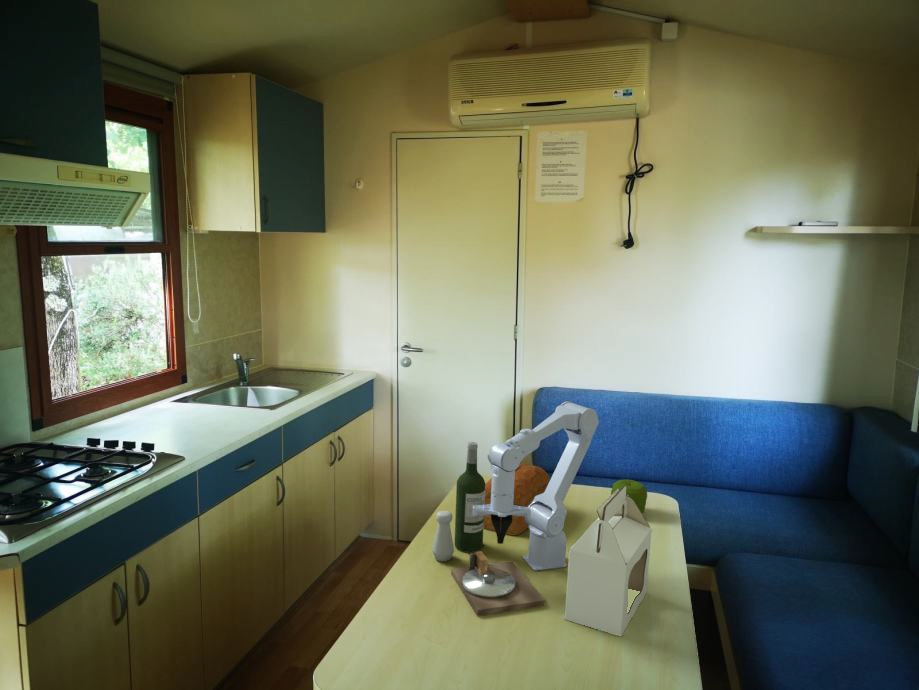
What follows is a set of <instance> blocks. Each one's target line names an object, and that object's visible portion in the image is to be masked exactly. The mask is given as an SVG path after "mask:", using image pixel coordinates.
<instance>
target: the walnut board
mask: <svg viewBox="0 0 919 690" xmlns="http://www.w3.org/2000/svg"><path fill="white" fill-rule="evenodd" d="M469 553H470V554H469V566H464V567H457V568H451V569H450V571H451V572H450V575H451V577H452V578H453V580H454V581H455V583H456V585H457V586H458V588H459V589H460V591H461V593H462V594H463V596H464V597H465V599H466V601H467V602H468V604H469V606H470V607H471V609H472V610H473V612H474V613H475V615H476V617H479V616H480V617H481V616H485V615H492V614H493V615H494V614H500V613H506V612H512V611H520V610H526V609H532V608H541V607H545V602H546V599H544V597H543V596H542V595H541V593H540V592H539V591H538V590H537V589H536V588H535V587H534V585H533V584H532V582H530V580H529V579H528V577H526V576H525V574H524V573H523V572H522V571H521V569H520V568H519V567H518V566H517V565H516V563H515V562H514V561H504V562H496V563H488V564H487V568H496V569H500V570H503V571H505V572H507V573H509V574H511V575H512V576H513V577H514V579H515V589H514V591H513V592H512V593H510V594H509V595H507V596H504V597H499V598H483V597H479V596H475V595H473V594H471V593H469V592H467V591H466V590H465V589H464V587H463V585H462V579H463V576H464V575H465V574H466V573H467V572H468V571H470V570H473V569H477V568H476V567H475V555H476V554H475V552H469Z"/></svg>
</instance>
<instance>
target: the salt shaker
mask: <svg viewBox="0 0 919 690" xmlns="http://www.w3.org/2000/svg"><path fill="white" fill-rule="evenodd" d="M435 520H436V522H437V524H436V525H437V526H436V531H435V535H434V538H433V544H432V554H433V556H434V558H435V560H437V562H443V561H445V562H448V561H450V560H451V558H452V556H453V554H454V552H455V546H454V541H453V534H452V531H451V529H452V528H451V524H450V523H452V520H453V514H452V512H450V511H449V510H440V511H438V512H437V513H436V516H435ZM447 560H448V561H447Z"/></svg>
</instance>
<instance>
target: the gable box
mask: <svg viewBox="0 0 919 690" xmlns="http://www.w3.org/2000/svg"><path fill="white" fill-rule="evenodd" d="M596 513H597V516H598V518H597V519H596V520H595V521H593V522H592V523H591V524H590V526H589V527H588V528H587V529H586V530H585V531H584V533H582V535H581V536H580V537H579V538H578V539H577V541H575V543H574V544H573V545H572V546H571V547H570V548H569V549H568V550H569V552H568V565H567V580H566V592H565V593H566V595H565V608H564V609H565V611H564V612H565V613H564V620H566V621H568V622H571V621H572V623H575V624H577V625H582V626H584V625H585V626H584V627H587V626H588V628H590V627H591V629H593V628H594V630H596V629H598V630H597V631H600V630H601V631H600V632H603V631H605V632H604V633H606V632H608V633H607V634H609V632H610V633H613V634H617V635H623V634H624V633H625V631H626V629H627V628H628V626H627V625H629V624H630V622H631V621H630V620H632V619H633V617H634V616H635V614H636V612H637V611H638V609H639V607H640V605H641V604H642V602H643V600H644V599H643V598H645V597H644V596H646V595H647V589H648V588H647V587H648V578H649V577H648V576H649V564H650V554H651V544H652V531H653V529H652V528H651V525H650V524H649V523H648V521H647V520H646V518H645V516H644V515H643V513H641V511H640V510H639V508H638V506H637V505H636V503H635V502H634V500H633V499H632V498H631V497H629V496H628V494H626V486H623V487H622V488H621V489H620V490H619V489H618V488H617V489H616V490H615V492H614V493H613V494H612V495H611V494H610V496H609V497H608V498H607V499H606V500H605V501H604V502H603V503H602V504H601V505H600V506H599V507H598V508H597V509H596ZM626 515H627V516H626ZM628 589H632V590H636V591H640V593H639V594H638V595H637V596H636V597H635V599H634V601H633V603H632V605H631V607H630V610H629V612H628V613H627V607H628ZM645 594H646V595H645ZM642 599H643V600H642ZM641 601H642V602H641ZM640 603H641V604H640ZM639 604H640V605H639ZM638 606H639V607H638ZM637 608H638V609H637ZM635 611H636V612H635ZM634 613H635V614H634ZM633 615H634V616H633ZM632 616H633V617H632ZM631 618H632V619H631ZM629 621H630V622H629ZM628 623H629V624H628ZM625 628H626V629H625ZM624 630H625V631H624ZM622 633H623V634H622Z"/></svg>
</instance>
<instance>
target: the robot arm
mask: <svg viewBox="0 0 919 690" xmlns="http://www.w3.org/2000/svg"><path fill="white" fill-rule="evenodd" d="M599 424H600V421H599V417H598V413H597V412H596V410H595V409H593V408H590V407H589V408H588V407H587V406H586V407H585V406H583V405H579V404H577V403H573V402H571V401H569V400H568V401H564V402H562V403H561V404H560V405H558V406H556V407H555V411H554V412H553V413H552V414H550V415H549V416H548V417H547V418H545V419H544V420H543V421H542V422H540V423H539V424H538V425H537V426H535V427H534V428H532V429H530V428H522V429H521V430H520V431H519V432H518V433H517V434H516V435H514V436H513V437H511V438H510V439H509V438H508V439H507V440H505V442H504V443H503V442H499V443H498V442H497V443H496V444H495V445H493V446H492V447H491V448H490V450H489V453H488V454H487V460H488V462H489V463H490V470H491V478H492V484H491V504H487V505H477V506H473V516H477V515H491V521H492V523H493V526H494V528H495V531H494V532H495V535H496V542H497V544H499V545H502V544H503V545H504V541H505V537H506V535H507V534H506V532H507V530H508V528H509V526H510V525H511V523H512V516H525V520H526V522H527V523H528V524H529V527H528V529H529V543H528V554H526V555H525V554H524V555H522V559H524V561H525V562H526V563H527V564H528V566H529V567H530V568H531V569H532V570H533V571H535V572H536V571H544V570H551V569H552V570H553V569H558V568H566V567H567V563H566V559H567V558H566V556H567V536H566V534H565V531H564V530H563V529H564V526H565V520H566V517H567V514H568V511H567V509H566V506H565V504H564V501H565V498H566V497H567V494H568V492H569V489H570V488H571V486H572V484H573V481H574V480H575V477H576V475H577V472H578V471H579V469H580V466H581V465H582V462H583V460H584V458H585V456H586V454H587V452H588V449H589V447H590V445H591V442H592V439H593V436H594V435H595V432H596V430H597V428H598V426H599ZM562 429H563V430H564V431H565V433H566V434H567V437H568V442H567V444H566V446H565V448H564V451H563V452H562V454H561V456H560V459H559V461H558V463H557V466H556V468H555V469H554V472H553V473H552V476H551V477H550V482H549V484H548V486H547V488H546V490H545V492H544V493H542V494H540V495H537V496H535V498H534V500H533V502H532V503H531V504H530V505H529V506H528V507H522V506H516V505H513V500H514V480H515V469H517V468H518V466H519V464H520V463H522V461H523V460H524V458H525V457H527V456H528V455H529V454H531V453H533V452H535V451H536V450H537V449H538V448H539V447H540V444H541V441H543V440H544V439H547V438H548V437H550V436H551V435H553V434H555V433H557V432H558V431H560V430H562ZM546 506H548V507H546ZM500 530H501V532H500Z"/></svg>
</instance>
